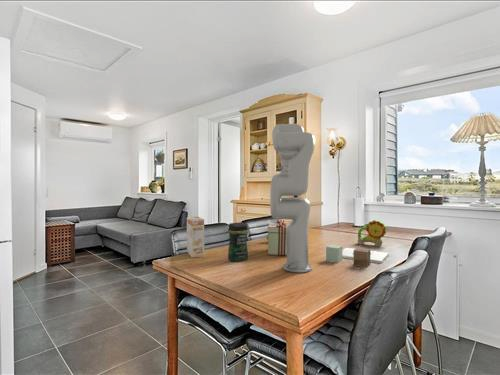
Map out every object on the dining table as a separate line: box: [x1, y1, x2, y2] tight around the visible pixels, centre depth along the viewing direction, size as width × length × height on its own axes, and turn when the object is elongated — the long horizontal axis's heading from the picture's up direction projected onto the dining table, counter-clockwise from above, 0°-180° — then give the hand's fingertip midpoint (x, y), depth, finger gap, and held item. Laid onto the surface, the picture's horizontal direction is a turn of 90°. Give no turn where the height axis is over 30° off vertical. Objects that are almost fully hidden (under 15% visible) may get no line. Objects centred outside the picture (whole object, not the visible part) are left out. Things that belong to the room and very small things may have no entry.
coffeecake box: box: [186, 216, 206, 259], centre depth 156 cm, size 15×7×20 cm, turn 22°
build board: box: [342, 247, 390, 264], centre depth 149 cm, size 18×22×1 cm
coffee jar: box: [227, 222, 249, 262], centre depth 144 cm, size 10×8×19 cm
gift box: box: [267, 219, 290, 256], centre depth 160 cm, size 17×18×17 cm
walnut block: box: [353, 247, 371, 268], centre depth 134 cm, size 6×6×7 cm
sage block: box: [325, 244, 343, 264], centre depth 141 cm, size 6×6×7 cm
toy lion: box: [357, 219, 387, 247], centre depth 174 cm, size 16×5×15 cm, turn 58°
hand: (287, 198), depth 168 cm, fingers open, 9 cm apart
